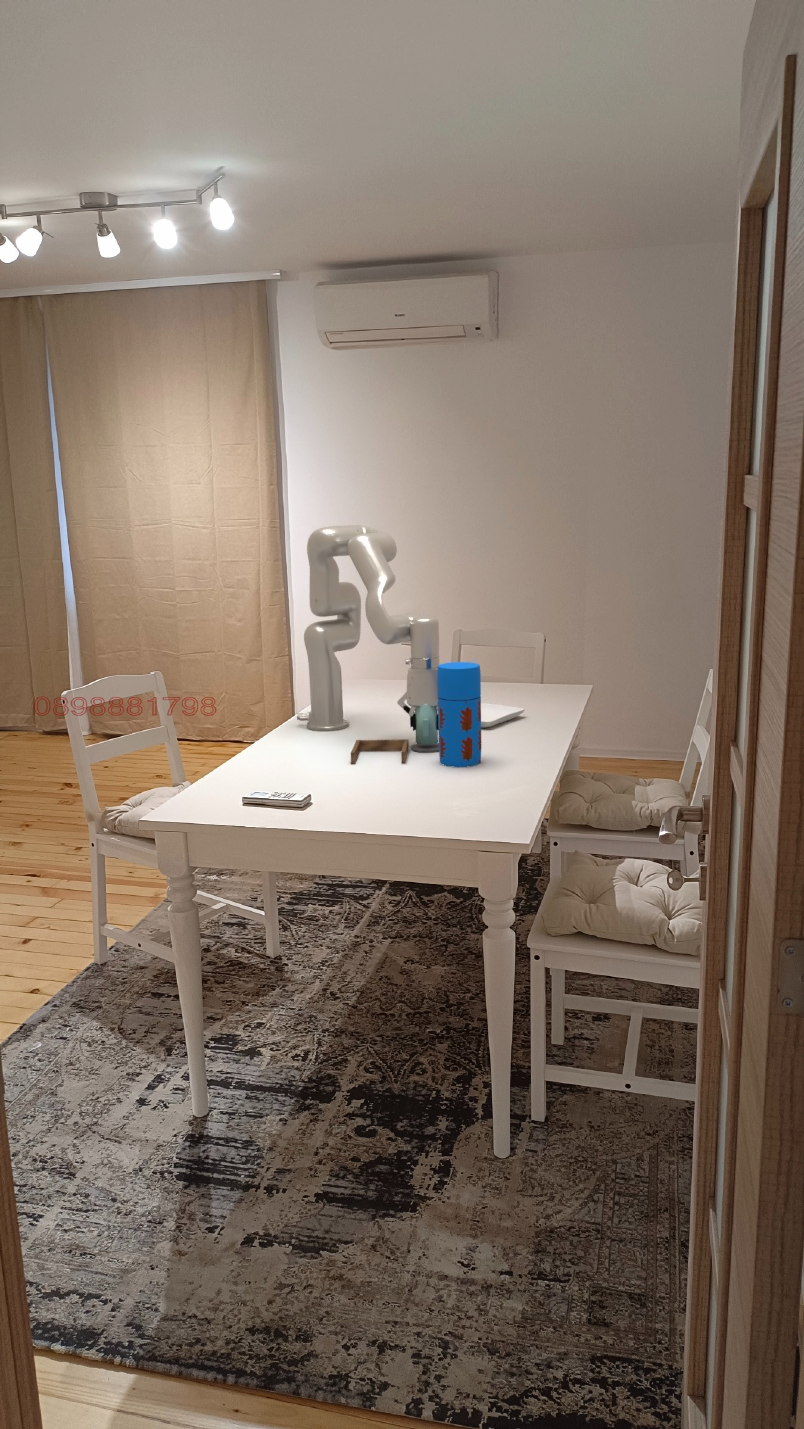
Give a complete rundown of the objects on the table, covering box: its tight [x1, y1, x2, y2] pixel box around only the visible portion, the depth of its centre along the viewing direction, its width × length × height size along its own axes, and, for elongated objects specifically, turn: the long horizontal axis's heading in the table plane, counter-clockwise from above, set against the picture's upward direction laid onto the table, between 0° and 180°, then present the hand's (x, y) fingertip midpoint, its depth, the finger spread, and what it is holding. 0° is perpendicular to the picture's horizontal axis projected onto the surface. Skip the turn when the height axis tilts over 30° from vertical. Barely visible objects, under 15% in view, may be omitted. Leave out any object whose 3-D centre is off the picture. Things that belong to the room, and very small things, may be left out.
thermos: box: [437, 661, 482, 768], centre depth 261 cm, size 11×11×25 cm
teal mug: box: [414, 704, 439, 745], centre depth 276 cm, size 8×6×11 cm
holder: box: [350, 738, 410, 765], centre depth 271 cm, size 14×14×3 cm
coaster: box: [410, 742, 439, 754], centre depth 279 cm, size 9×9×1 cm
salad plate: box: [437, 702, 525, 729], centre depth 311 cm, size 21×21×3 cm
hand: (426, 728), depth 278 cm, fingers closed on teal mug, 5 cm apart
